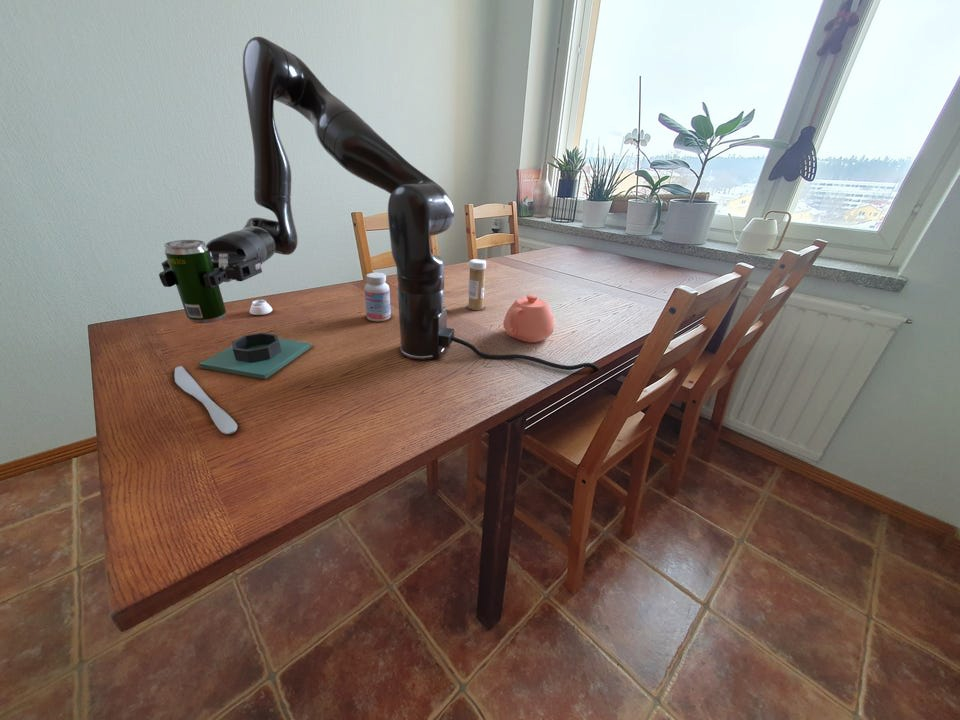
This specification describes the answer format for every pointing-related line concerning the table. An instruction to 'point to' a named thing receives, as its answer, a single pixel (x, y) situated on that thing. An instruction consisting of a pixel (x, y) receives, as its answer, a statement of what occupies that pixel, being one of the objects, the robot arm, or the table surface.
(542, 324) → the sugar bowl
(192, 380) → the butter knife
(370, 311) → the pill bottle
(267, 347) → the dock
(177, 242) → the beer can
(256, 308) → the white truncated cone
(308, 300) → the table surface
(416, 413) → the table surface
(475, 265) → the sprinkles bottle
